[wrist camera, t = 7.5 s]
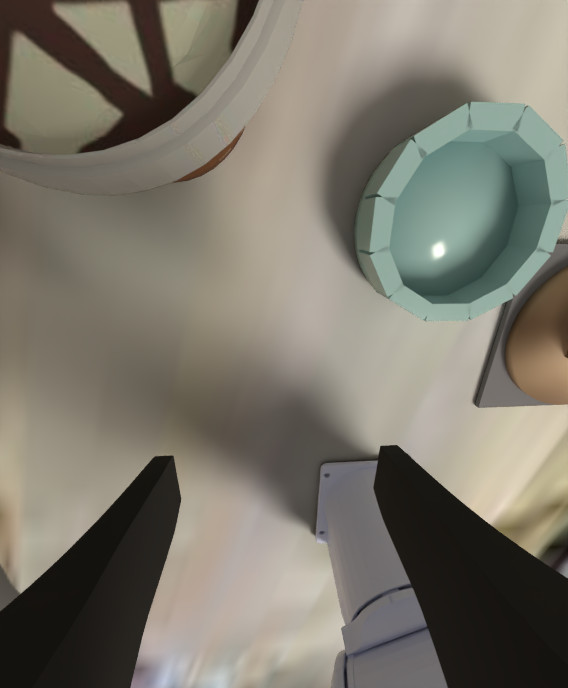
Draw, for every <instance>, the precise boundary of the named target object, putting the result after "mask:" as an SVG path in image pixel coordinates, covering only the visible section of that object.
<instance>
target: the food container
mask: <svg viewBox="0 0 568 688" xmlns="http://www.w3.org/2000/svg"><path fill="white" fill-rule="evenodd" d="M302 3H303V0H0V170H1V171H3V172H5V173H7V174H9V175H12V176H15V177H18V178H21V179H24V180H26V181H29V182H32V183H35V184H38V185H41V186H43V187H47V188H52V189H57V190H62V191H67V192H73V193H78V194H93V195H119V194H127V193H134V192H141V191H147V190H150V189H153V188H156V187H159V186H162V185H165V184H168V183H171V182H181V181H188V180H191V179H194V178H197V177H199V176H202V175H204V174H205V173H207V172H209V171H210V170H212V169H214V168H215V167H216V166H217V165H218V164H220V163H221V162H222V161H223V160H224V159H225V158H226V157H227V156H228V154H229V153H230V152H231V151H232V150H233V148H234V147H235V145H236V144H237V142H238V140H239V139H240V137H241V135H242V133H243V131H244V128H245V126H246V124H247V123H248V122H249V121H250V119H251V118H252V117H253V116H254V115H255V113H256V111H257V110H258V108H259V106H260V105H261V103H262V101H263V100H264V98H265V96H266V95H267V93H268V91H269V90H270V88H271V86H272V85H273V83H274V81H275V79H276V77H277V74H278V72H279V70H280V67H281V65H282V63H283V60H284V58H285V55H286V53H287V51H288V48H289V46H290V44H291V41H292V38H293V35H294V31H295V28H296V24H297V20H298V17H299V13H300V10H301V6H302Z"/></svg>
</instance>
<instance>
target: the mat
mask: <svg viewBox="0 0 568 688" xmlns="http://www.w3.org/2000/svg"><path fill="white" fill-rule="evenodd" d="M547 253H549V254H550V255H551V256H550V257H549V258H548V260H547V261H546V262H545V263H544V264H543V265H542V267H541V268H540V269H539V270H538V271H537V272H536V273H535V275H534V276H533V277H532V278H531V279H530V280H529V282H528V283H527V284H526V285H525V286H524V287H523V288H522V290H521V291H520V292H519V293H518V294H517V295H516V296H515V295H513V298H512V299H510V300H508V301H507V303H506V306H505V309H504V313H503V316H502V319H501V322H500V326H499V329H498V332H497V335H496V338H495V342H494V345H493V348H492V351H491V354H490V358H489V361H488V364H487V367H486V370H485V374H484V377H483V380H482V383H481V386H480V390H479V393H478V396H477V399H476V403H475V405H476V406H477V407H478V408H485V407H511V406H537V405H564V404H549V403H544V402H541V401H538V400H536V399H534V398H532V397H531V396H529V395H528V394H526V393H525V392H523V391H522V390H520V389H519V388H518V387H517V386H516V385H515V384H514V383H513V382H512V380H511V378H510V377H509V374H508V372H507V369H506V364H505V347H506V342H507V338H508V334H509V331H510V329H511V326H512V324H513V322H514V320H515V318H516V316H517V314H518V313H519V311H520V310H521V308H522V307H523V305H524V304H525V303H526V301H527V300H528V299H529V298H530V296H531V295H532V294H533V293H534V292H535V291H536V290H537V289H538V288H539V287H540V286H541V285H542V284H543V283H544V282H546V281H547V280H548V279H549V278H550V277H551V276H553V275H554V274H556V273H557V272H559V271H560V270H561V269H563V268H565V267H567V266H568V244H556V245H555V248H554V251H553V252H547Z"/></svg>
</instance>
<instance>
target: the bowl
mask: <svg viewBox="0 0 568 688" xmlns="http://www.w3.org/2000/svg"><path fill="white" fill-rule="evenodd" d="M563 141H564V140H563V139H562V138H561V137H560V136H559V135H558V134H557V133H556V132H555V131H554V130H553V129H552V128H551V127H550V126H549V125H548V124H547V123H546V122H545V121H544V120H543V119H542V118H541V117H540V116H539V115H538V114H537V113H536V112H535V111H534V110H533V109H532V108H531V107H530V106H529V105H528V106H526V107H525V104H518V103H493V102H470V103H466V104H464V105H463V106H461V107H459V108H458V109H456V110H454V111H452V112H451V113H449V114H447V115H445V116H444V117H442V118H440V119H439V120H437V121H435V122H434V123H432V124H431V125H429V126H427V127H426V128H424V129H422V130H421V131H419V132H418V133H416V134H414V135H412V136H411V137H409V138H407V139H406V140H405V141H403V142H402V143H400V144H398V145H397V146H395V148H394V149H392V151H391V152H390V153H389V154H388V155H387V156H386V157H385V158H384V159H383V160H382V162H381V163H380V164H379V165H378V167H377V168H376V169H375V171H374V172H373V174H372V175H371V177H370V179H369V181H368V183H367V184H366V186H365V188H364V191H363V193H362V196H361V198H360V201H359V205H358V208H357V212H356V218H355V224H354V242H355V250H356V255H357V259H358V262H359V265H360V267H361V270H362V272H363V273H364V275H365V277H366V279H367V280H368V281H369V283H370V284H371V285H372V286H373V287H374V289H375V290H376V292H378V293H380V294H381V295H383V296H384V297H386V298H387V299H389V300H391V301H392V302H394V303H396V304H397V305H399V306H400V307H402V308H404V309H405V310H407V311H408V312H410V313H412V314H413V315H415V316H417V317H418V318H420V319H422V320H425V321H468V319H470V320H471V319H473V318H475V317H477V316H479V315H481V314H483V313H485V312H487V311H489V310H491V309H493V308H495V307H497V306H499V305H501V304H503V303H505V302H506V301H508V300H510V299H512V298H513V295H515V296H516V295H517V294H518V293H519V292H520V291H521V290H522V288H523V287H524V286H525V285H526V284H527V283H528V282H529V280H530V279H531V278H532V277H533V276H534V275H535V273H536V272H537V271H538V270H539V269H540V268H541V267H542V265H543V264H544V263H545V262H546V261H547V260H548V258H549V257H550V256H551V255H550V254H549V253H547V252H553V251H554V248H555V245H556V242H557V239H558V236H559V234H560V231H561V228H562V225H563V222H564V219H565V216H566V214H567V211H568V200H566V199H568V163H567V155H566V147H565V144H562V145H560V144H561V143H562V142H563Z"/></svg>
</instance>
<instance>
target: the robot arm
mask: <svg viewBox="0 0 568 688" xmlns="http://www.w3.org/2000/svg"><path fill="white" fill-rule="evenodd" d="M326 473H328V474H326ZM180 503H181V495H180V490H179V484H178V479H177V473H176V468H175V462H174V456H155V457H154V458H153V459H152V460H151V461H150V462H149V463H148V464H147V466H146V467H145V468H144V469H143V470H142V471H141V473H140V474H139V475H138V476H137V477H136V478H135V480H134V481H133V482H132V483H131V484H130V485H129V486H128V488H127V489H126V490H125V491H124V492H123V493H122V494H121V496H120V497H119V498H118V499H117V500H116V501H115V502H114V503H113V504H112V505H111V506H110V508H109V509H108V510H107V511H106V512H105V513H104V514H103V515H102V516H101V517H100V518H99V519H98V521H97V522H96V523H95V524H94V525H93V526H92V527H91V528H90V529H89V530H88V531H87V532H86V533H85V534H84V535H83V536H82V537H81V538H80V539H79V540H78V541H77V542H76V543H75V544H74V545H73V546H72V547H71V548H70V549H69V550H68V551H67V552H66V553H65V554H64V555H63V556H62V557H61V558H60V559H59V560H58V561H57V562H55V563H54V564H53V565H52V566H51V567H50V568H49V569H48V570H47V571H46V572H45V573H44V574H43V575H41V576H40V577H39V578H38V579H37V580H36V581H35V582H34V583H33V584H32V585H30V586H29V587H28V588H27V589H26V590H25V591H24V592H22V593H21V594H20V595H19V596H18V597H17V598H15V599H14V600H13V601H12V602H11V603H10V604H9V605H7V606H6V607H5V608H4V609H3V610H1V611H0V688H130V686H131V682H132V678H133V674H134V669H135V665H136V661H137V657H138V652H139V648H140V644H141V640H142V636H143V632H144V629H145V625H146V621H147V618H148V614H149V611H150V608H151V605H152V602H153V599H154V596H155V592H156V589H157V586H158V583H159V580H160V577H161V574H162V570H163V567H164V564H165V561H166V558H167V555H168V551H169V548H170V545H171V542H172V539H173V535H174V532H175V527H176V523H177V518H178V513H179V508H180ZM315 537H316V542H318V543H327V545H328V550H329V554H330V559H331V564H332V569H333V574H334V579H335V584H336V588H337V593H338V598H339V603H340V608H341V613H342V616H343V619H344V622H345V624H346V626H343V627H342V628H341V630H342V635H343V640H344V645H345V650H343V651H341V652H339V653H338V655H337V657H336V661H335V665H334V672H333V675H332V682H331V688H568V578H566V577H565V576H563V575H562V574H560V573H558V572H557V571H555V570H554V569H552V568H551V567H549V566H548V565H546V564H545V563H543V562H542V561H540V560H539V559H537V558H536V557H534V556H533V555H531V554H530V553H528V552H527V551H525V550H524V549H523V548H521V547H520V546H518V545H517V544H516V543H514V542H513V541H511V540H510V539H509V538H507V537H506V536H504V535H503V534H502V533H500V532H499V531H498V530H496V529H495V528H494V527H492V526H491V525H490V524H488V523H487V522H486V521H485V520H483V519H482V518H481V517H480V516H478V515H477V514H476V513H475V512H473V511H472V510H471V509H469V508H468V507H467V506H466V505H465V504H463V503H462V502H461V501H460V500H459V499H457V498H456V497H455V496H454V495H453V494H451V493H450V492H449V491H448V490H447V489H446V488H444V487H443V486H442V485H441V484H440V483H439V482H438V481H436V480H435V479H434V478H433V477H432V476H431V475H430V474H429V473H427V472H426V471H425V470H424V469H423V468H422V467H421V466H420V465H419V464H417V463H416V462H415V461H414V460H413V459H412V458H411V457H410V456H409V455H408V454H406V453H405V452H404V451H403V450H402V449H401V448H400V447H399V446H397V445H390V446H380V451H379V457H378V460H377V461H357V462H337V463H325V464H323V465H322V466H321V468H320V482H319V495H318V508H317V522H316V535H315Z"/></svg>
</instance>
